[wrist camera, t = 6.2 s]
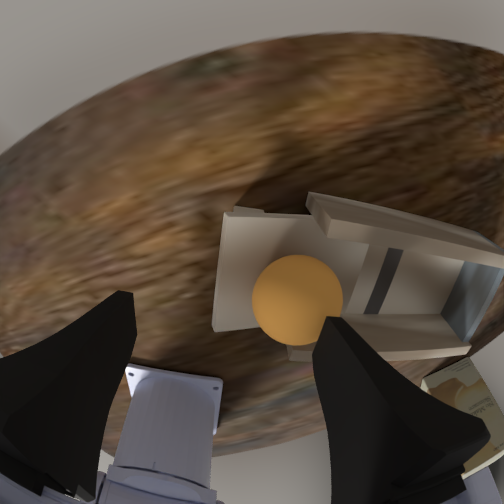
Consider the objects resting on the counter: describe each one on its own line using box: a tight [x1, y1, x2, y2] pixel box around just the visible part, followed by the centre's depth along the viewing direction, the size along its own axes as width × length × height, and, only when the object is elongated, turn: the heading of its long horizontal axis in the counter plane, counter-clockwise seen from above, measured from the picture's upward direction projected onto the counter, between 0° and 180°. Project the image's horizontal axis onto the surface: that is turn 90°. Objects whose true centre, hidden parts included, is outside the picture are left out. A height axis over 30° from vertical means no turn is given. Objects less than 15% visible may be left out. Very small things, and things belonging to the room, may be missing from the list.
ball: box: [252, 255, 343, 345], centre depth 13 cm, size 4×4×4 cm
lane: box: [212, 192, 504, 362], centre depth 15 cm, size 8×18×4 cm, turn 82°
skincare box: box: [421, 357, 504, 480], centre depth 18 cm, size 6×4×12 cm
